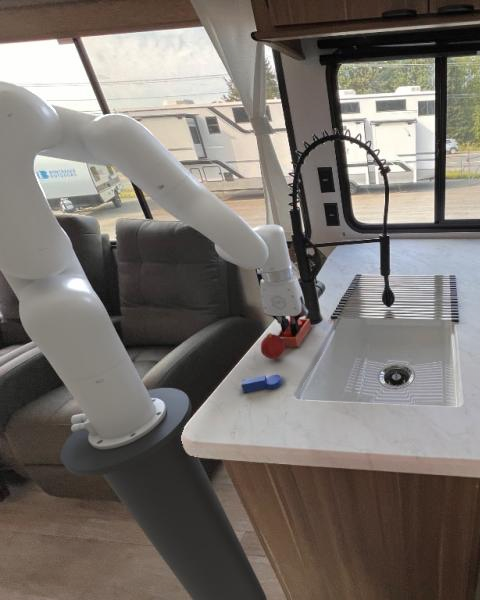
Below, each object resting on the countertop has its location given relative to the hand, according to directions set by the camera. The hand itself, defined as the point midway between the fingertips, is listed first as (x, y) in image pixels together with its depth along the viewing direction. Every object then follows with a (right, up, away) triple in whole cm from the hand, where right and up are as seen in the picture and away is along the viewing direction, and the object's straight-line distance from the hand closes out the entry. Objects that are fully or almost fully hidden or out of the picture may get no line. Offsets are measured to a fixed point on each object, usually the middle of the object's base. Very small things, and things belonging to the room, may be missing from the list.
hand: (291, 333), depth 89 cm
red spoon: (0, 0, +2) cm, 2 cm away
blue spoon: (-1, -11, -16) cm, 20 cm away
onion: (-2, -6, -7) cm, 9 cm away
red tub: (0, -1, +2) cm, 3 cm away
